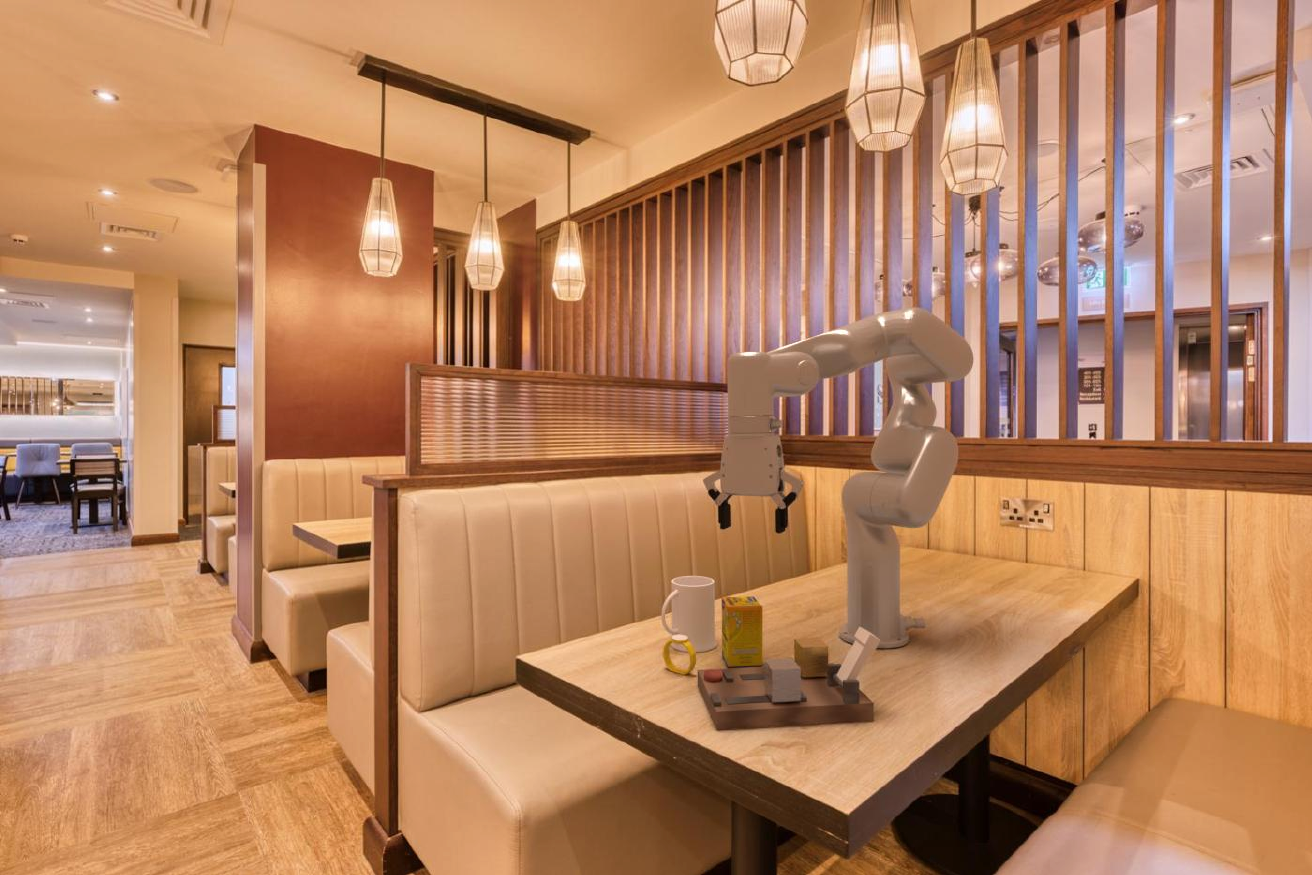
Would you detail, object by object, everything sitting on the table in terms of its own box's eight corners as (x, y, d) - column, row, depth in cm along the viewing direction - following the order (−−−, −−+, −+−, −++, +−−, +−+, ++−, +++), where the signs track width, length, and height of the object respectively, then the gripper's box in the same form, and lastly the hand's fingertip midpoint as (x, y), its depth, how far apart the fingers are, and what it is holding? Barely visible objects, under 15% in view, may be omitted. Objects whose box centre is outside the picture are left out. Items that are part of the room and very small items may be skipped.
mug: (674, 660, 114) (673, 591, 113) (647, 646, 121) (646, 581, 121) (725, 646, 120) (725, 581, 120) (697, 634, 127) (696, 573, 127)
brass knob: (819, 666, 103) (819, 637, 102) (828, 675, 99) (828, 646, 98) (794, 667, 102) (794, 638, 102) (802, 677, 98) (802, 647, 98)
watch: (698, 675, 108) (700, 640, 107) (688, 680, 106) (690, 644, 105) (669, 664, 111) (671, 630, 111) (659, 669, 109) (661, 634, 109)
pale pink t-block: (839, 683, 95) (868, 631, 96) (852, 696, 91) (882, 641, 91) (829, 677, 95) (858, 625, 95) (841, 690, 91) (871, 635, 91)
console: (832, 678, 105) (832, 644, 105) (873, 720, 90) (873, 681, 90) (697, 685, 103) (697, 650, 102) (716, 730, 88) (716, 689, 88)
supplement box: (721, 658, 114) (720, 596, 114) (754, 657, 115) (754, 595, 114) (727, 671, 108) (727, 606, 108) (763, 670, 109) (762, 605, 109)
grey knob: (791, 689, 94) (791, 657, 94) (800, 700, 90) (800, 668, 90) (764, 690, 93) (764, 659, 93) (772, 702, 89) (772, 669, 89)
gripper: (808, 426, 107) (810, 530, 108) (712, 427, 116) (714, 523, 116) (795, 427, 101) (796, 537, 101) (694, 428, 109) (695, 530, 110)
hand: (752, 530), depth 109 cm, fingers open, 9 cm apart
